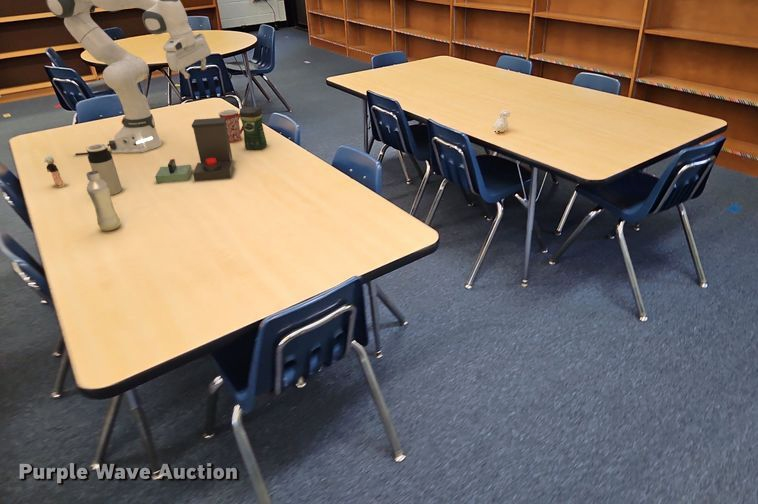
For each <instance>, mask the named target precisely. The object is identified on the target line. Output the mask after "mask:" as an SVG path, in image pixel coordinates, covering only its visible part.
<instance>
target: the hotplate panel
mask: <svg viewBox="0 0 758 504" xmlns="http://www.w3.org/2000/svg"><path fill="white" fill-rule="evenodd" d="M192 173H193V169H192V165H191V164H181V165H180V164H179V165H176V169H175V171H174V173H170V172H169V168H168V165H166V166H160V167H159V169H158V171H157V173H156V174H155V176H154V177H155V181H156V184H162V183H173V182H174V183H175V182H187V181H189V179H190V177H191V174H192Z"/></svg>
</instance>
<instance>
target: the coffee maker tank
mask: <svg viewBox="0 0 758 504" xmlns="http://www.w3.org/2000/svg"><path fill="white" fill-rule="evenodd" d="M191 128H192V129H193V134H194V139H195V143H196V148H197V152H198V157H199V161H200V163H203V162H206V159H208V158H216V161H229V160H232V163H233V164H234V159H233V154H232V149H231V142H229V137H228V132H227V126H226V117H224V118H220V117H213V118H198V119H193V122H192V124H191Z"/></svg>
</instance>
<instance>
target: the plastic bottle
mask: <svg viewBox="0 0 758 504" xmlns="http://www.w3.org/2000/svg"><path fill="white" fill-rule="evenodd" d="M85 175H86V178H87V181H88V183H87V185H86V192H87V194H88V197H89V198H90V200H91V202H92V204H93V207H94V210H95V215H96V221H97V226H98V227H99V229H100V230H102V231H105V232H109V231H113V230H117V229H118V228H119V227H120V224H121V219H120V218H119V217H120V216H119V215H118V213H117V212H116V210H115V206H114V204H113V201H112V195H110V188H109V185H108V184H107V183H106V182H105V181H104V180H102V179H101V175H100V173H99V171H92V170H91V171H88V172H86V173H85Z"/></svg>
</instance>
